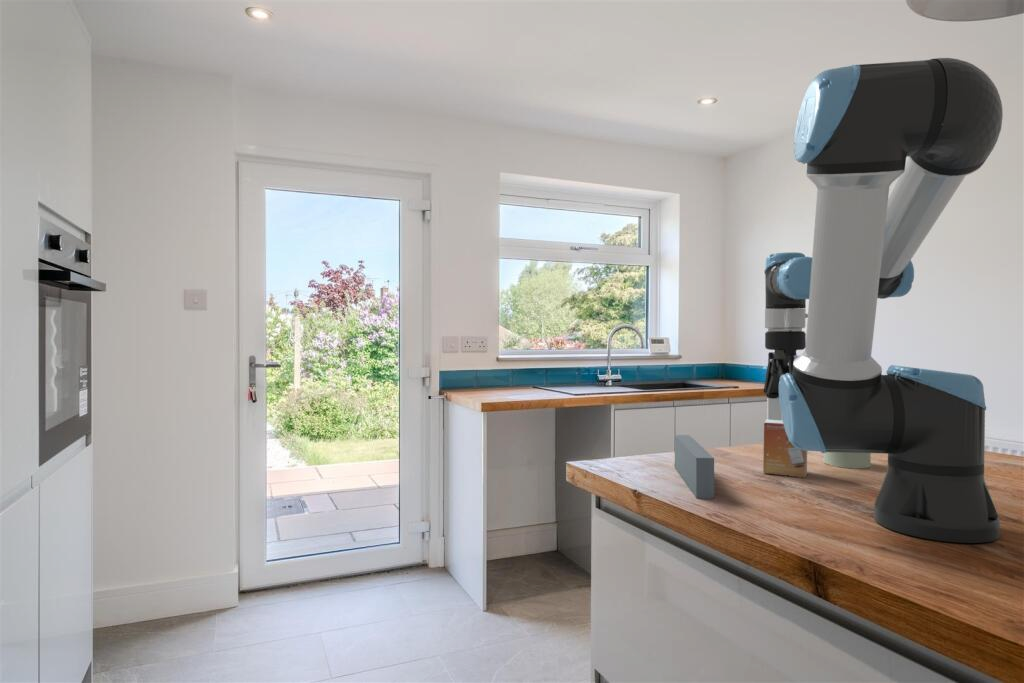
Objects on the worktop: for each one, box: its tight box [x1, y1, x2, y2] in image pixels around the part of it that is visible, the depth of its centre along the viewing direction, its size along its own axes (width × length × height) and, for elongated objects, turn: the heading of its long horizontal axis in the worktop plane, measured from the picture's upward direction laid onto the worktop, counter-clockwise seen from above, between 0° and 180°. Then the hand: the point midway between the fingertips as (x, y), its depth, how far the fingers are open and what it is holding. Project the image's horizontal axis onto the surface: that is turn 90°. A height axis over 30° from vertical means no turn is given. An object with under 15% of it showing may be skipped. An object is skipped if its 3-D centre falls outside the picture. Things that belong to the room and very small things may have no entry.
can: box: [822, 452, 872, 469], centre depth 133 cm, size 9×9×12 cm
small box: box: [762, 418, 808, 478], centre depth 125 cm, size 8×6×10 cm
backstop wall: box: [674, 434, 715, 499], centre depth 118 cm, size 24×3×7 cm, turn 174°
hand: (784, 434), depth 125 cm, fingers open, 13 cm apart
